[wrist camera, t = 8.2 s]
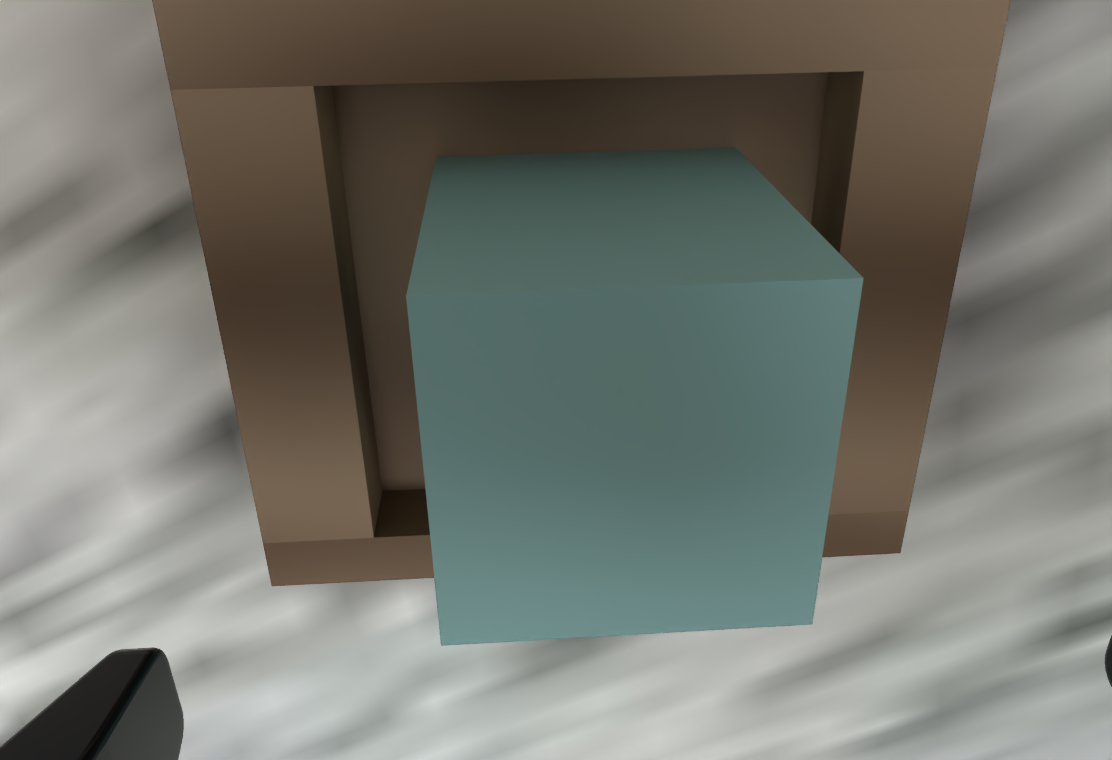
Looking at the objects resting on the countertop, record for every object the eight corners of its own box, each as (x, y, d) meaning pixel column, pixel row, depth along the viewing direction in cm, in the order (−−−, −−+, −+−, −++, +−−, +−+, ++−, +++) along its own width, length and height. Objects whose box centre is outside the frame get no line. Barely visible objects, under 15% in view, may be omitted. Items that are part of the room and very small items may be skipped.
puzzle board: (855, 480, 20) (958, 645, 16) (297, 507, 19) (239, 687, 15) (1049, -710, 12) (1391, -1083, 7) (76, -724, 11) (-202, -1139, 7)
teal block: (716, 406, 18) (812, 623, 12) (456, 418, 18) (441, 646, 12) (735, 146, 15) (863, 278, 10) (436, 157, 15) (406, 296, 10)
